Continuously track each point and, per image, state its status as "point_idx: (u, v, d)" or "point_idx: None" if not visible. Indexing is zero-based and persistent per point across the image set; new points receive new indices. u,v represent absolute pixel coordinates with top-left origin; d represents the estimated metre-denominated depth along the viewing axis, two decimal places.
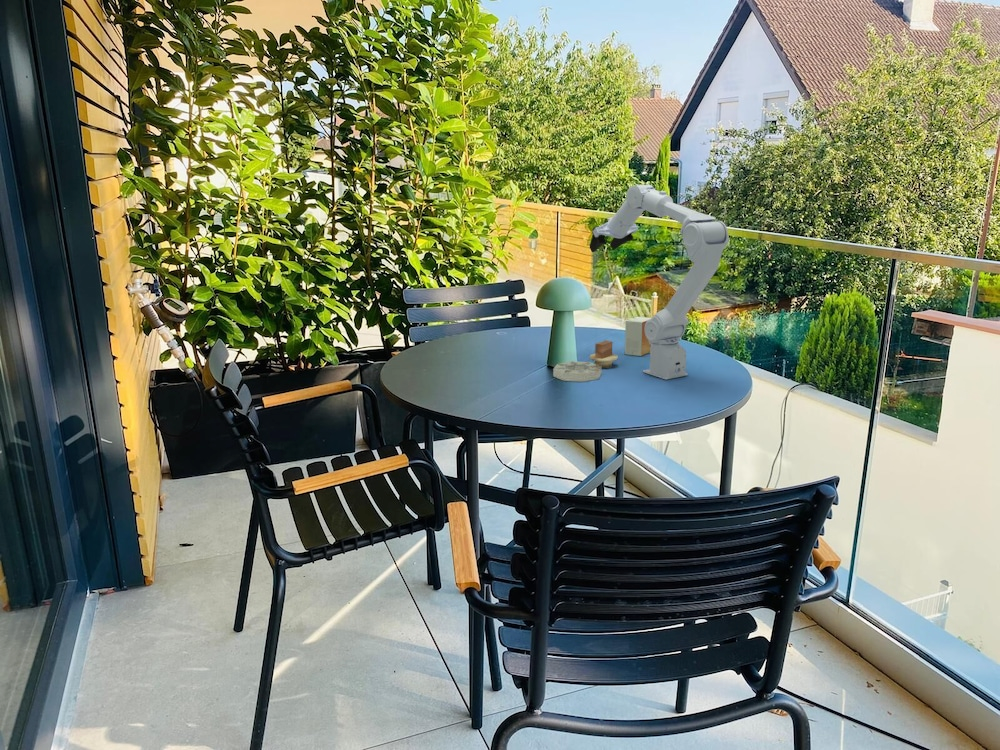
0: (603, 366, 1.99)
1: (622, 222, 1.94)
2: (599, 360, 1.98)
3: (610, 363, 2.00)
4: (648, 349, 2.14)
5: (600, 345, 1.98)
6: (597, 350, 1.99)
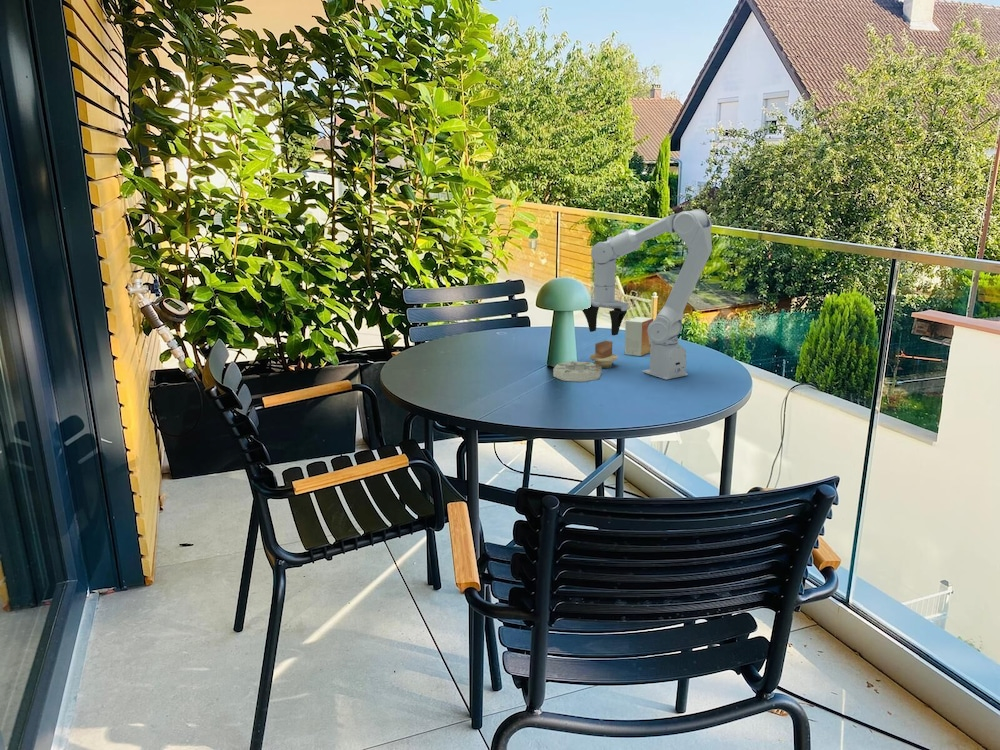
0: (603, 366, 1.99)
1: (607, 284, 1.93)
2: (599, 360, 1.98)
3: (610, 363, 2.00)
4: (648, 349, 2.14)
5: (600, 345, 1.98)
6: (597, 350, 1.99)
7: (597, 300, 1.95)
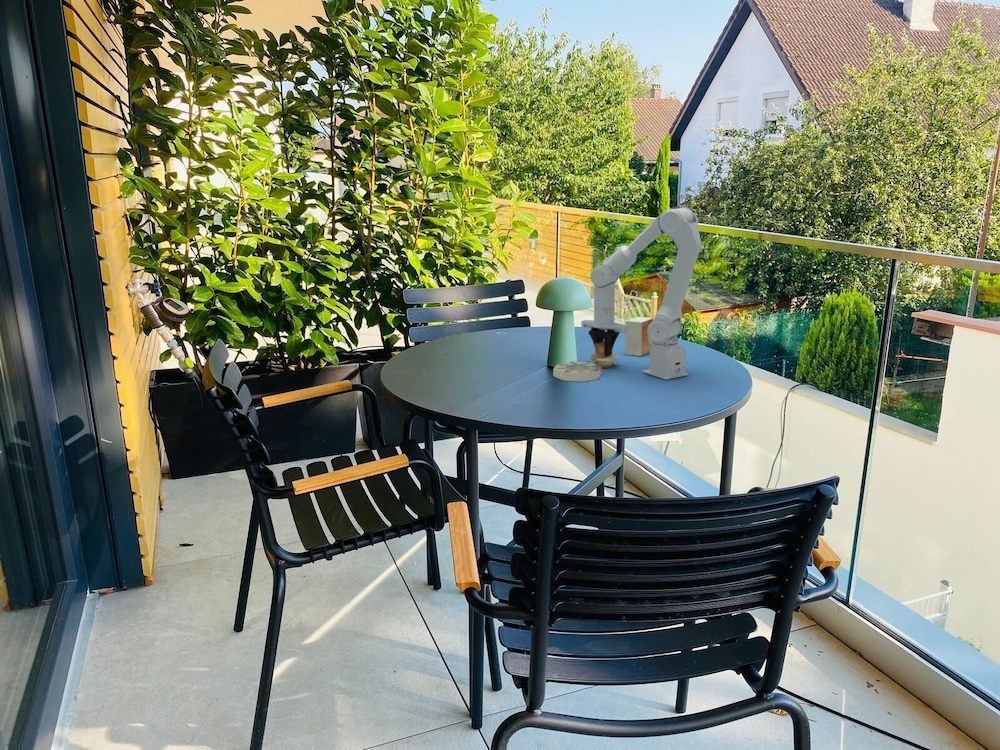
0: (603, 366, 1.99)
1: (606, 307, 1.94)
2: (599, 360, 1.98)
3: (610, 363, 2.00)
4: (648, 349, 2.14)
5: (600, 345, 1.98)
6: (597, 350, 1.99)
7: (597, 323, 1.96)
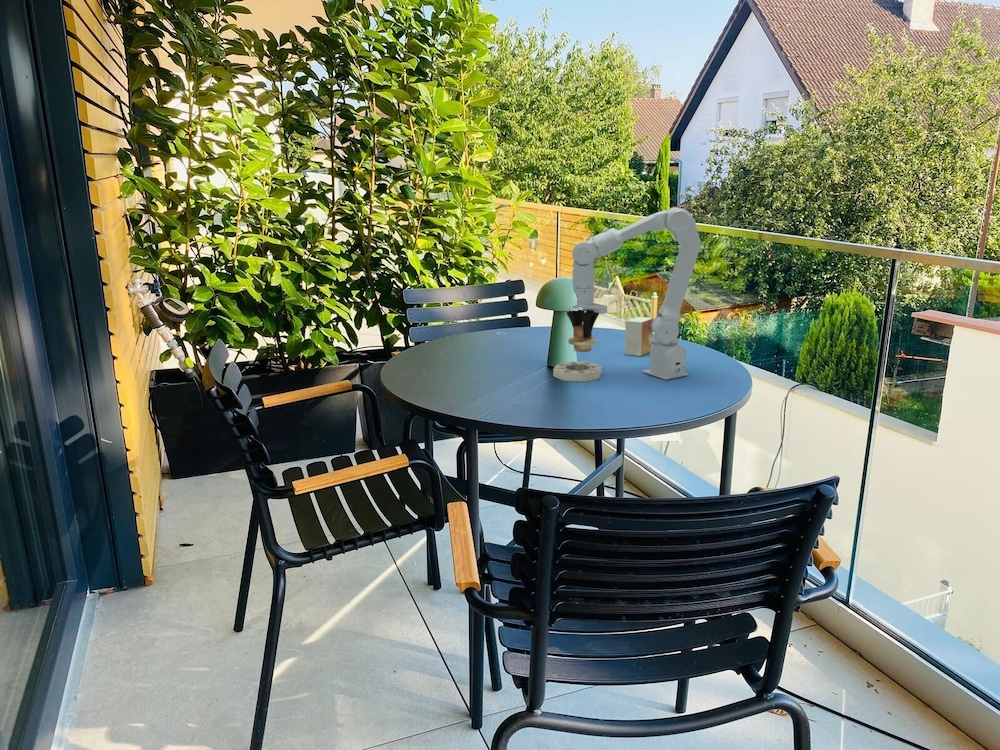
0: (582, 350, 1.90)
1: (590, 286, 1.86)
2: (577, 344, 1.89)
3: (589, 347, 1.91)
4: (648, 349, 2.14)
5: (578, 328, 1.89)
6: (575, 333, 1.90)
7: None
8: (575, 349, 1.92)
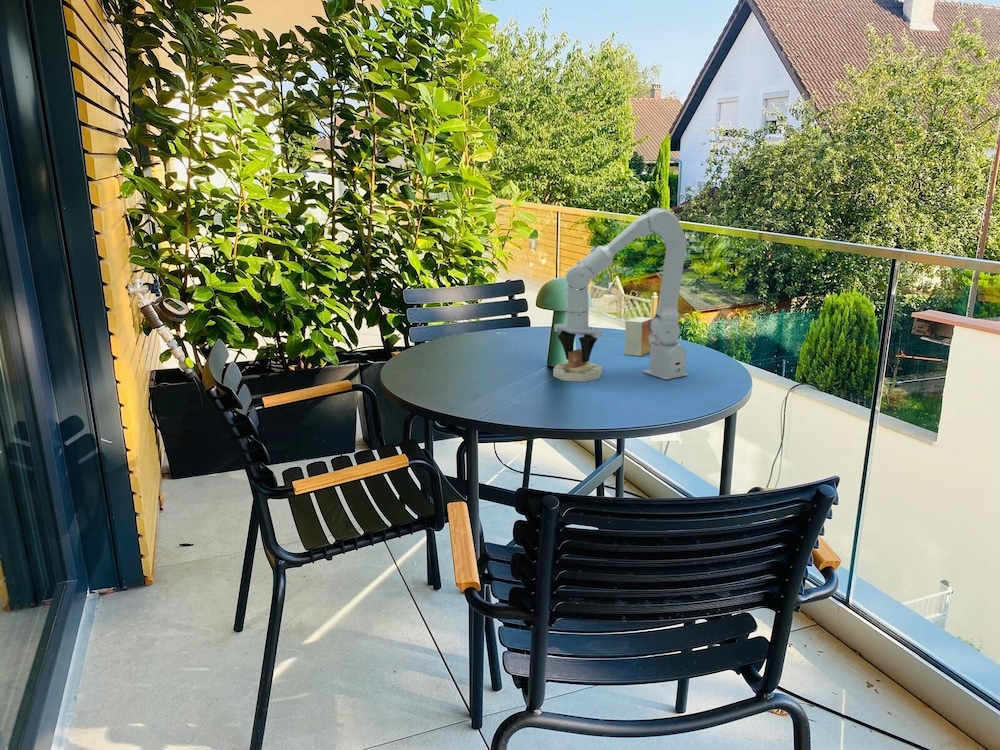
0: None
1: (585, 310, 1.86)
2: (572, 369, 1.89)
3: None
4: (648, 349, 2.14)
5: (573, 354, 1.89)
6: (570, 359, 1.90)
7: (570, 327, 1.87)
8: None
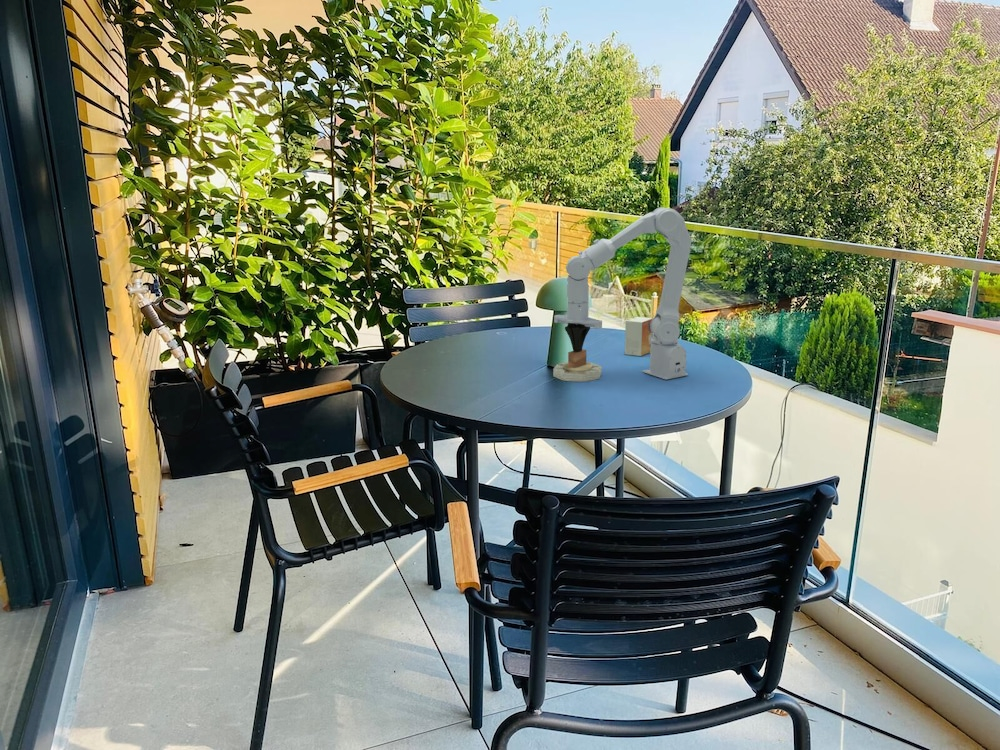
0: None
1: (585, 301, 1.85)
2: (572, 369, 1.89)
3: None
4: (648, 349, 2.14)
5: (573, 354, 1.89)
6: (570, 359, 1.90)
7: (570, 317, 1.87)
8: None
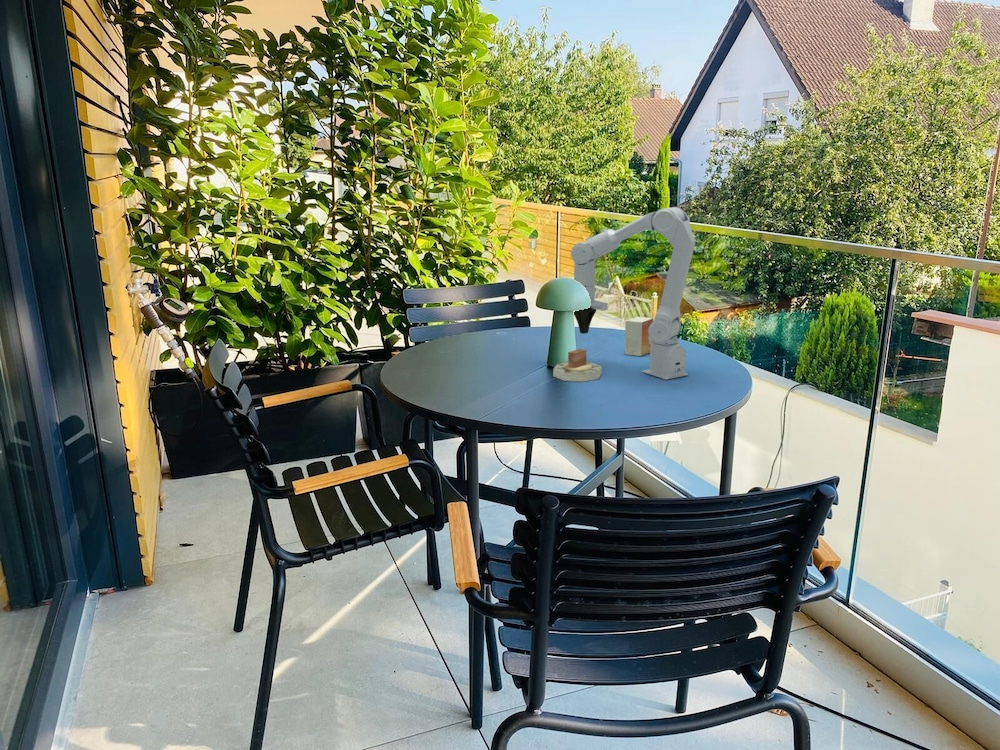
0: None
1: (587, 284, 1.94)
2: (572, 369, 1.89)
3: None
4: (648, 349, 2.14)
5: (573, 354, 1.89)
6: (570, 359, 1.90)
7: None
8: None
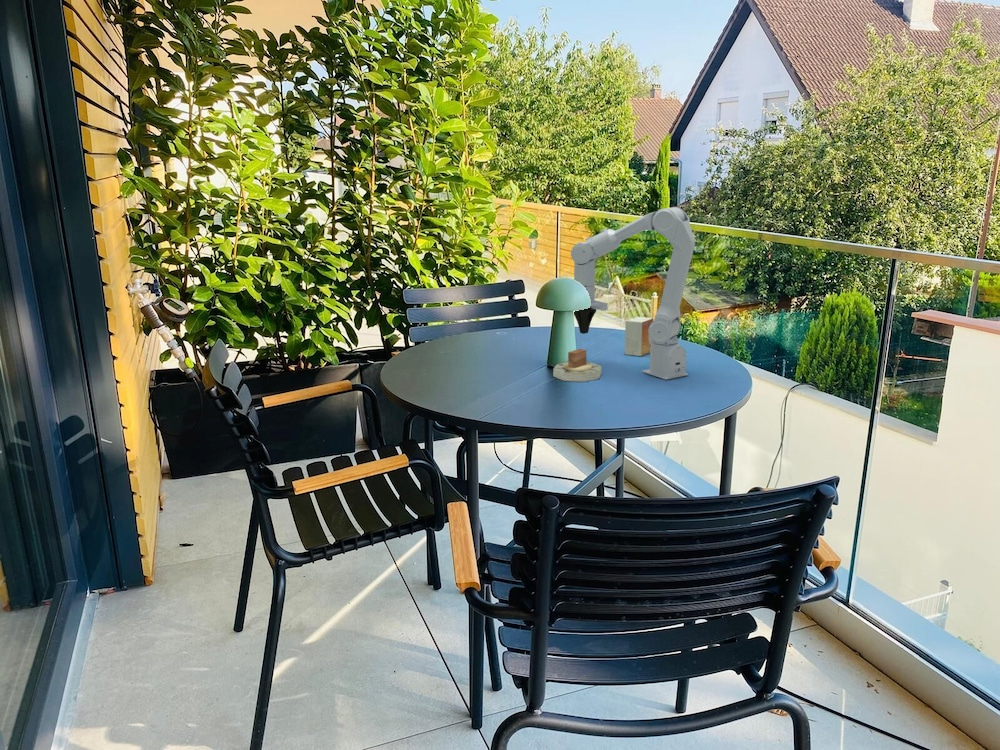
0: None
1: (587, 284, 1.94)
2: (572, 369, 1.89)
3: None
4: (648, 349, 2.14)
5: (573, 354, 1.89)
6: (570, 359, 1.90)
7: None
8: None
